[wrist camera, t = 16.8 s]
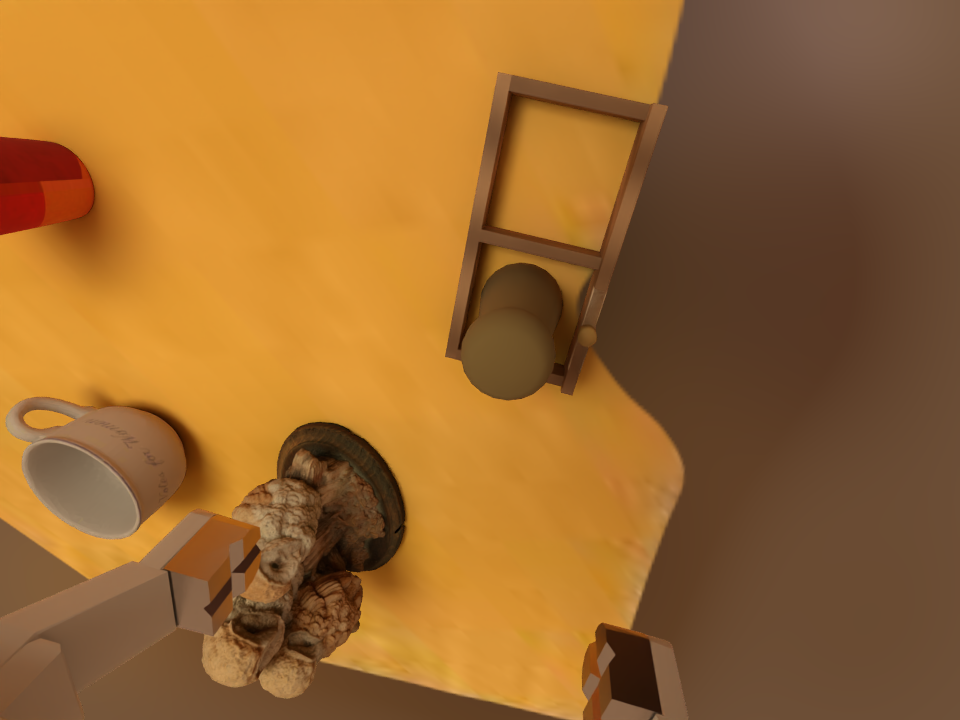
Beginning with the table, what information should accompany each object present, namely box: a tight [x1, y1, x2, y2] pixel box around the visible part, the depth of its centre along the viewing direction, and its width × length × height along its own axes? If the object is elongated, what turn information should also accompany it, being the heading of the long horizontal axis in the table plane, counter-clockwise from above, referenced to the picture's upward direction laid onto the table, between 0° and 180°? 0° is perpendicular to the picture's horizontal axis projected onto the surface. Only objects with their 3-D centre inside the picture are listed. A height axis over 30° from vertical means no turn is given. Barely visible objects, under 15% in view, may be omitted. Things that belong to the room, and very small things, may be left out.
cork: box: [461, 263, 563, 400], centre depth 29 cm, size 6×6×11 cm
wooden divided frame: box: [445, 72, 668, 395], centre depth 30 cm, size 18×10×4 cm, turn 168°
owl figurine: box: [202, 422, 405, 699], centre depth 37 cm, size 18×12×17 cm, turn 13°
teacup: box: [6, 397, 186, 539], centre depth 42 cm, size 14×11×8 cm
